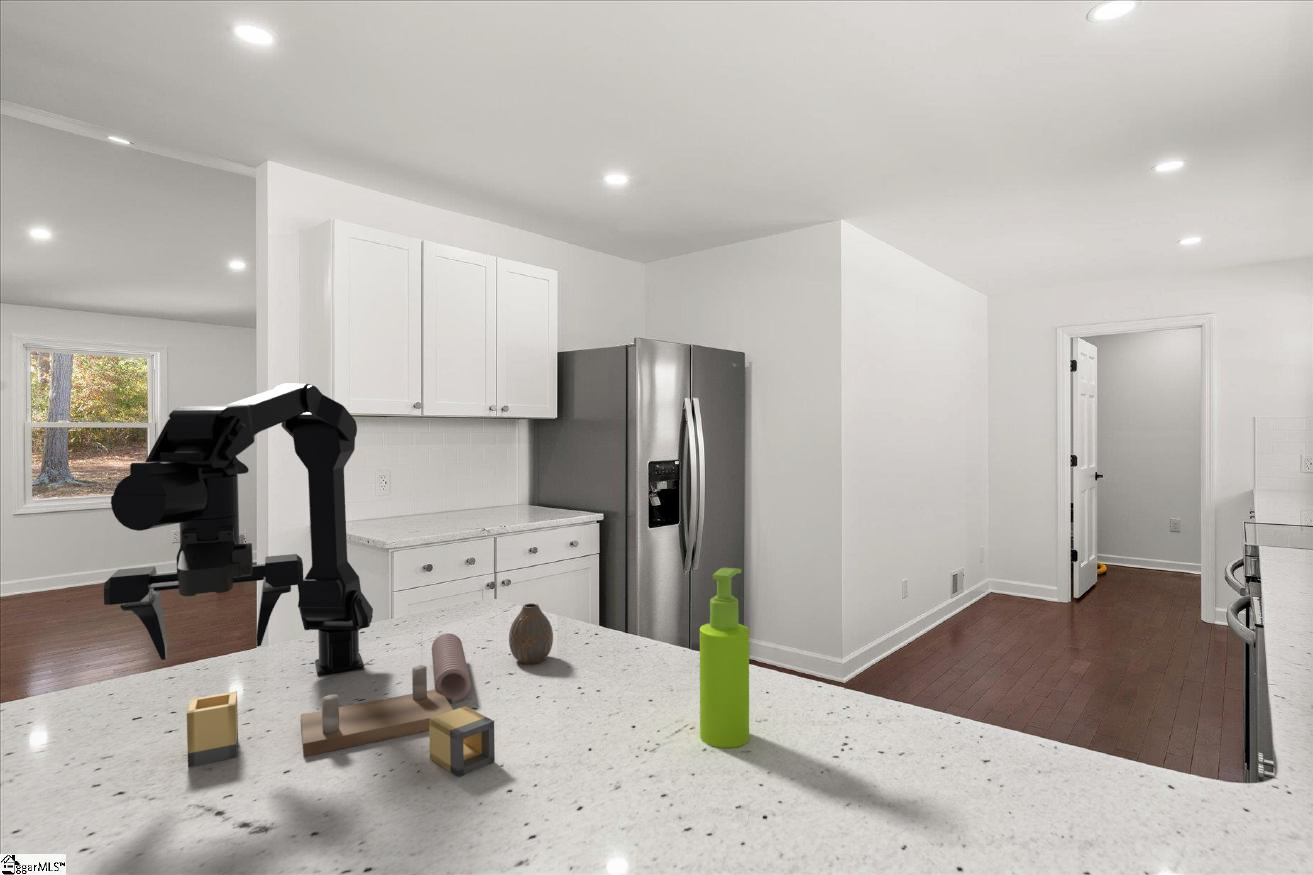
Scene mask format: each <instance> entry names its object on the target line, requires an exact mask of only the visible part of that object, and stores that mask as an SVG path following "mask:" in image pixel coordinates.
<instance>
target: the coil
mask: <svg viewBox="0 0 1313 875" xmlns="http://www.w3.org/2000/svg"><path fill="white" fill-rule="evenodd" d="M465 656H466V655H465V652H464V646H463V643H462V640H461V638H460V637H459V636H457V635H456V634H454V633H450V632H448V633H442V634H441V635H439V636H437V637H436V638H435V639H434V641H433V643H432V645H431V657H432V669H433V670H432V672H433V682H434V690H435V691H442V693H443V694H444V696H445V698H446V699H447V701H450V703H452V704H454V703H458V702H460V701H462V700H463V699H464V698H465V697H466V696H467V695H468V693H469V691H470V689H471V678H470V674H469V673H470V672H469V669H468V664H467V659H466V657H465Z"/></svg>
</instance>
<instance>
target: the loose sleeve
mask: <svg viewBox="0 0 1313 875" xmlns="http://www.w3.org/2000/svg"><path fill="white" fill-rule="evenodd" d="M188 704H189V705H188V706H187V711H186V739H187V740H186V741H187V742H186V743H187V768H190V767H195V766H200V765H205V764H210V763H215V762H218V761H220V762H221V761H223V760H224V761H225V760H229V759H233V758H237V753H238V746H239V745H238V744H239V724H238V721H239V720H238V719H239V718H238V715H239V714H238V713H239V712H238V691H236V690H235V691H230V692H224V693H218V694H217V693H216V694H211V695H205V696H200V697H193V698H190V700H189V703H188Z"/></svg>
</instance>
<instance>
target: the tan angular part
mask: <svg viewBox="0 0 1313 875" xmlns="http://www.w3.org/2000/svg"><path fill="white" fill-rule="evenodd" d="M428 733H429V759H430V760H431V761H433V762H434V763H436V764H437V765H438V766H441V767H442V768H443V769H445V770H447V771H448V772H450V773H451V774H453V775H454V776H455V777H457V778H459V777H461V776H464V775H467V774H468V773H471V772H474V771H475V770H479V769H480V768H483V767H485V766H488V765H490V764H493V763H495V760H496V759H495V758H496V757H495V756H496V755H495V754H496V753H495V752H496V751H495V748H496V746H495V720H493V719H491V718H489V717H487V716H485V715H484V714H481V713H480V712H478V711H476V710H473V709H472V708H471V707H468V706H466V705H464V706H461V707H458V708H456V709H453V710H452V711H449V712H446V713H443V714H440V715H438V716H435V717H432V718H429V730H428Z"/></svg>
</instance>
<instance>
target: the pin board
mask: <svg viewBox="0 0 1313 875" xmlns="http://www.w3.org/2000/svg"><path fill="white" fill-rule="evenodd" d="M427 669H428V668H427V666H426V665H416V666H414V667H412V668H411V671H412V672H411V680H412V681H411V682H412V685H411V686H412V693H409V694H404V695H398V696H393V697H387V698H384V699H377V700H372V701H367V702H362V703H361V702H360V703H357V704H349V705H345V706H340V699H339V695H338V694H328V695H326V696H323V697H322V698H321V710H317V711H313V712H308V713H307V712H306V713H303V714H302V713H301V714H300V732H301V743H302V756H303V758H304V757H309V756H313V755H318V754H323V753H328V752H332V751H333V752H334V751H338V750H341V749H343V750H344V749H346V748H347V749H348V748H351V747H356V746H360V745H361V746H362V745H365V744H371V743H374V742H379V741H385V740H389V739H393V738H399V737H403V736H408V735H413V734H416V733H423V732H426V731H429V718H432V717H435V716H438V715H440V714H443V713H446V712H449V711H452V710H454V709H453V707H452V706H451V704H450V702H449V700H447V699H446V698H445V696H444V694H443V693H442V691H435V689H430V690H428V681H427V680H428V679H427V678H428V677H427V676H428V674H427V673H428V672H427V671H428V670H427Z"/></svg>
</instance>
